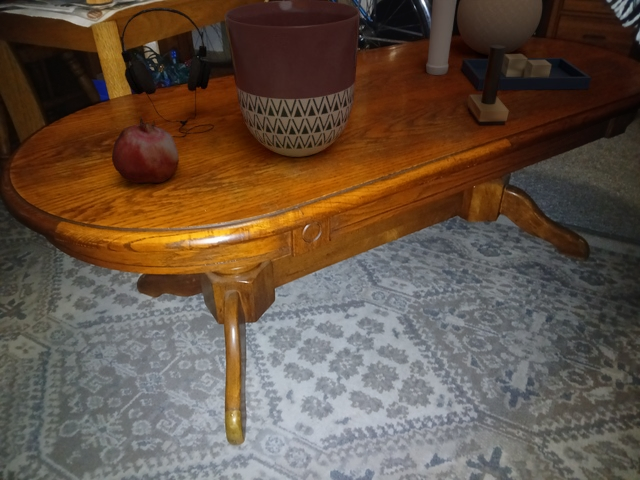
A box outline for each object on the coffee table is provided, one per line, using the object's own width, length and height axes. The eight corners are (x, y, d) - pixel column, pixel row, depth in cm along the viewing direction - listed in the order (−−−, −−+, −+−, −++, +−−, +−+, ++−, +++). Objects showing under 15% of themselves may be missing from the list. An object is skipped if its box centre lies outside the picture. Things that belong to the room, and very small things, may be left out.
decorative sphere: (482, 41, 145) (495, -39, 134) (547, 55, 132) (567, -33, 121) (436, 53, 135) (445, -32, 123) (502, 70, 122) (519, -24, 110)
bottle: (427, 75, 119) (440, -48, 105) (423, 69, 123) (435, -50, 109) (450, 75, 119) (465, -48, 105) (444, 68, 123) (459, -51, 109)
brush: (492, 108, 101) (504, 40, 94) (506, 125, 93) (520, 53, 86) (466, 108, 101) (477, 40, 94) (478, 125, 93) (490, 53, 86)
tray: (560, 68, 122) (562, 57, 121) (588, 89, 109) (591, 77, 108) (461, 69, 123) (462, 59, 121) (477, 90, 110) (479, 78, 108)
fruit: (109, 177, 78) (92, 114, 73) (166, 159, 83) (154, 99, 78) (133, 199, 73) (116, 133, 67) (193, 179, 77) (182, 115, 72)
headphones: (132, 141, 90) (103, 19, 78) (138, 118, 99) (112, 6, 87) (219, 134, 92) (203, 14, 81) (217, 112, 101) (202, 2, 90)
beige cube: (540, 77, 115) (545, 59, 113) (547, 83, 111) (551, 64, 109) (522, 78, 115) (526, 59, 113) (528, 83, 112) (532, 64, 109)
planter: (256, 125, 95) (245, -1, 83) (361, 129, 93) (365, 0, 80) (224, 172, 79) (205, 25, 67) (350, 179, 77) (353, 28, 65)
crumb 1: (518, 71, 119) (521, 53, 117) (523, 76, 116) (527, 58, 113) (500, 71, 119) (504, 54, 117) (506, 76, 116) (509, 58, 113)
